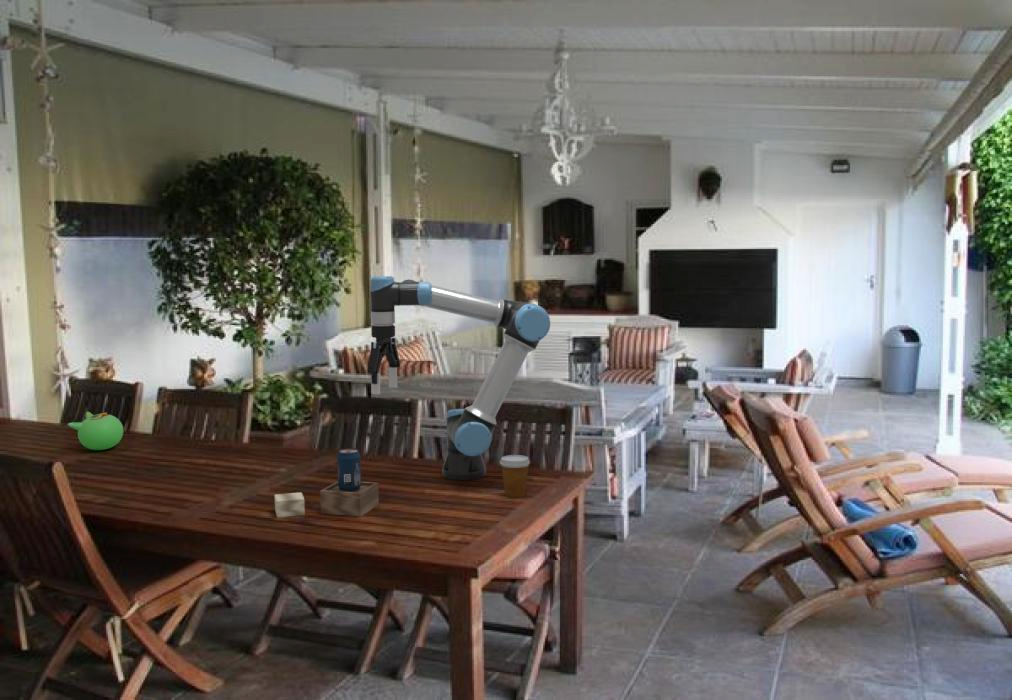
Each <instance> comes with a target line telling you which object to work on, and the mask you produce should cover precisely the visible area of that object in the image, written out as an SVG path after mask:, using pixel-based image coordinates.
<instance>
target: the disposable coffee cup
mask: <svg viewBox="0 0 1012 700" xmlns="http://www.w3.org/2000/svg"><path fill="white" fill-rule="evenodd" d="M499 463H500V466H501V471H502V480H503V486H504V495H505V496H506V497H507V498H508V497H509V498H523V497H525V495H526V490H527V481H528V472H529V466H530V463H531V461H530V459H529V457H528V456H526V455H520V454H510V455H509V454H508V455H504V456H501V459H500V461H499Z"/></svg>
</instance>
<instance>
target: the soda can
mask: <svg viewBox="0 0 1012 700" xmlns="http://www.w3.org/2000/svg"><path fill="white" fill-rule="evenodd" d="M336 457H337V458H336V459H337V460H336V461H337V464H336V465H337V481H338V487H339V489H340V490H341V491H343V492H354V491H357V490H359V488H360V487H361V482H362V463H361V461H362V459H361V454H360V452H359V449H358V448H343V449H340V450H338V453H337V456H336Z"/></svg>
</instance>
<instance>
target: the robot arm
mask: <svg viewBox="0 0 1012 700" xmlns="http://www.w3.org/2000/svg"><path fill="white" fill-rule="evenodd" d="M369 290H370V291H369V293H370V294H369V295H370V297H369V298H370V314H369V316H370V320H371V321H370V322H371V324H372V326H371V327H370V328H371V331H370V332H371V337H372V338H375V341H371V342H370V343H371V344H370V353H369V358H368V363H367V374H370V384H371V385H370V387H371V388H370V389H371V395H381V373H380V372H379V371H380V368H381V365H382V361H383V359H384V357H385V358H386V361H387V363H388V366H389V367H388V368H387V369H388V371H387V373H388V388H395V389H396V388H398V368H400V367H401V364H400V363H401V360H400V357H399V354H398V353H399V352H398V348H397V344H396V343H397V342H396V326H395V325H394V324H395V323H396V311H395V306H397V307H400V306H405V307H406V306H409V307H410V306H421V307H426V308H430V309H434V310H439V311H443V312H446V313H451V314H455V315H459V316H463V317H467V318H470V319H476V320H481V321H483V322H487V323H492V324H493V325H494V326H495V327H497V328H500V329H504V332H503V337H504V342H503V344H502V346H501V348H500V350H499V352H498V354H497V356H496V357H495V360H494V362H493V364H492V365H491V367H490V369H489V372H488V374H487V376H486V377H485V380H483V383H482V384H481V387H480V389H479V391H478V392H477V395H476V396H475V398H474V401H473V402H472V404H471V405H469V406H467V407H465V408H454V409H449V410H448V411H447V412H446V418H445V420H446V455H445V459H444V462H443V466H442V469H441V471H442V474H441V475H442V477H444V478H446V479H449V480H459V481H463V480H464V481H469V480H477V479H480V478H484V477H485V476H486V475H487V467H486V464H485V460H484V458H483V455H482V454H484V453H485V452H486V451H487V450H488V449H489V448H490V446H491V442H492V434H493V433H494V430H495V428H496V426H497V419H496V417H497V414H498V413H499V410H500V408H501V406H502V404H503V403H504V400H505V399H506V397H507V394H508V393H509V391H510V388H511V387H512V385H513V383H514V381H515V380H516V377H517V376H518V374H519V372H520V369H521V368H522V366H523V363H524V362H525V360H526V358H527V356H528V354H529V353H531V352H534V351H535V350H536V348H537V347H538V345H539V343H540V341H541V340H543V339H544V338H545V337H546V336H547V335H548V333H549V332H550V328H551V319H550V315H549V313H548V311H546V310H545V309H544V308H543V307H542V306H540V305H539V304H536V303H532V302H528V301H515V300H508V299H504V298H503V299H502V298H501V299H499V300H495V299H491V298H486V297H482V296H480V295H479V296H478V295H475V294H469V293H466V292H463V291H457V290H453V289H449V288H445V287H441V286H436V285H432V283H430V282H429V281H415V280H413V279H409V278H408V279H404V280H402V281H400V282H399V281H398V282H397V281H395V278H394V276H391V275H387V276H385V275H379V276H378V275H377V276H373V277H371V278H370V289H369Z"/></svg>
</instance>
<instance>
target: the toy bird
mask: <svg viewBox="0 0 1012 700" xmlns="http://www.w3.org/2000/svg"><path fill="white" fill-rule="evenodd" d="M67 426H68V427H70V428H71V429H74V430H76V431H77V438H78V441H79V442H80V443H81V445H82V446H83V447H84V448H85V449H89V450H92V451H104V450H108V449H111V448H113V447H115V446H116V445H117V444H119V443H120V442H121V440H122V438H123V436H124V426H123V423H122V422H121V420H120V419H118V418H117V417H116V416H114V415H112V414H108V412H102V413H97V414H92V413H91V412H89V411H86V412H85V419H83V420H82V422H81V421H80V422H69V423H67Z"/></svg>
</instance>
